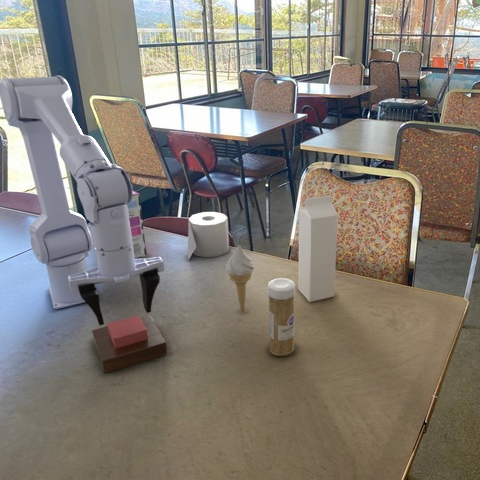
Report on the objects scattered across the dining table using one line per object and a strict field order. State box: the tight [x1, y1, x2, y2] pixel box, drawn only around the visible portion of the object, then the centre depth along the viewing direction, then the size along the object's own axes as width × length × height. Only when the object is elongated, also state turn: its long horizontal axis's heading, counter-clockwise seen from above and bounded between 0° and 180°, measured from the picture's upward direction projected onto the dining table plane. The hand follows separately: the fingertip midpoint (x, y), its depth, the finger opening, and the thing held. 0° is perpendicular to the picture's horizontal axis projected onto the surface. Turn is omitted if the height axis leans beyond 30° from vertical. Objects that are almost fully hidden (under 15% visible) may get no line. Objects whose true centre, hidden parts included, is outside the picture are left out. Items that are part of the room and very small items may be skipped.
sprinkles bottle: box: [267, 277, 296, 357], centre depth 83 cm, size 5×5×14 cm
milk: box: [297, 195, 339, 303], centre depth 100 cm, size 6×6×22 cm
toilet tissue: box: [187, 211, 230, 261], centre depth 120 cm, size 9×13×9 cm
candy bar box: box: [126, 190, 148, 259], centre depth 118 cm, size 11×5×16 cm, turn 43°
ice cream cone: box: [224, 244, 255, 313], centre depth 94 cm, size 6×6×15 cm
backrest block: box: [91, 314, 168, 374], centre depth 85 cm, size 10×10×2 cm
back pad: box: [106, 314, 148, 349], centre depth 84 cm, size 5×5×4 cm
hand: (124, 315), depth 82 cm, fingers open, 7 cm apart
